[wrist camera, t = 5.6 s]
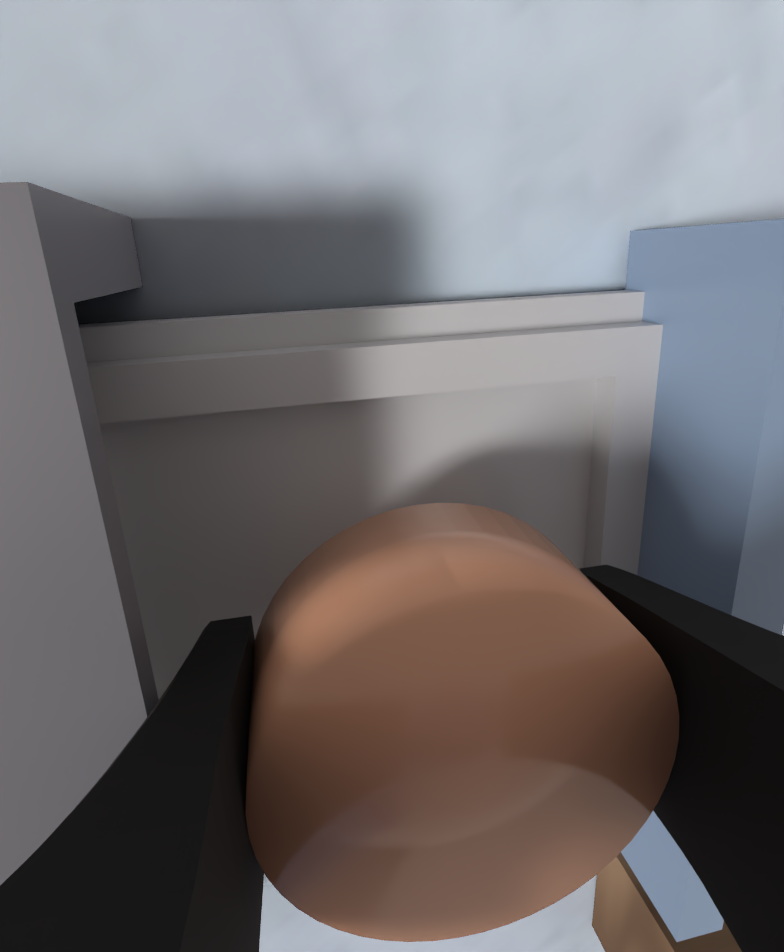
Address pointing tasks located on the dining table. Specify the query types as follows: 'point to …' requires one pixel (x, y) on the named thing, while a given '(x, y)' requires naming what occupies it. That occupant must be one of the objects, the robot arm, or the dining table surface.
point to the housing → (59, 524)
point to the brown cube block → (641, 918)
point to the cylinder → (448, 727)
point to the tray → (467, 445)
